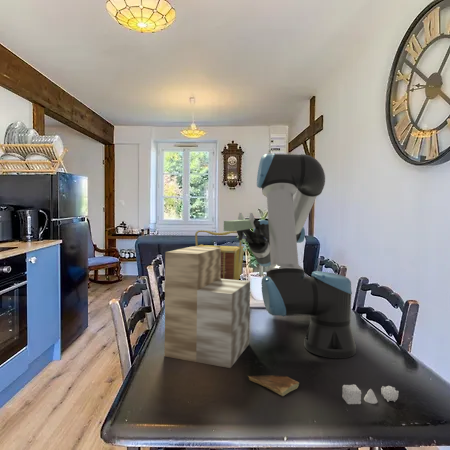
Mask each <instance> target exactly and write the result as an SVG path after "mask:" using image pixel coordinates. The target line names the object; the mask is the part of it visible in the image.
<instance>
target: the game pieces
mask: <svg viewBox="0 0 450 450" xmlns="http://www.w3.org/2000/svg"><path fill="white" fill-rule="evenodd" d="M341 388H342V395H341V396H342V397H341V398H342V399H343V400H344V401H345V403H346V404H347V405H361V404H362V390H361V389H360V388H359V387H358V386H357V385H356V384H343V385H342V387H341ZM380 391H381V395H382V397H383V398H384V399H385V400H386V401H387V402H394V403H395V402H396V401H397V400H398V398H399V390H396V387H395V386H391V385H387V386H384V385H382V386H381V388H380ZM363 400H364V401H365V403H369V404H373V405H375V404H377V403H379V402H378V399H377V397H376V395H375V391H373V389H372V388H370V389H368V391H367V393H366V394H365V396H364V398H363Z"/></svg>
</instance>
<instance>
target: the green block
mask: <svg viewBox="0 0 450 450" xmlns="http://www.w3.org/2000/svg"><path fill="white" fill-rule="evenodd" d="M245 229H250V230H251V229H253V227H252V225H251V223H250V221H249V218H248V219H246V218H245V220H238V219H237V220H236V219H234V220H223V231H224V232H229V231H239V230H245Z"/></svg>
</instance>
